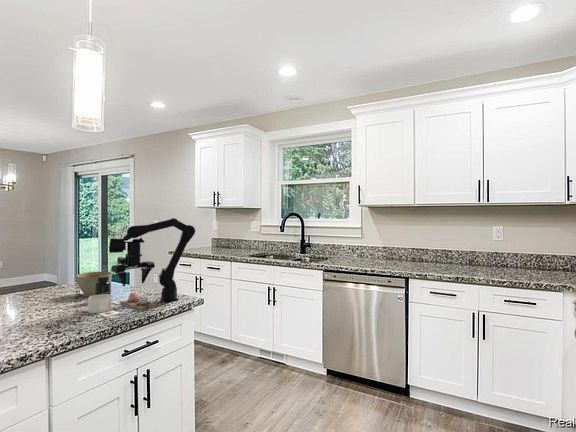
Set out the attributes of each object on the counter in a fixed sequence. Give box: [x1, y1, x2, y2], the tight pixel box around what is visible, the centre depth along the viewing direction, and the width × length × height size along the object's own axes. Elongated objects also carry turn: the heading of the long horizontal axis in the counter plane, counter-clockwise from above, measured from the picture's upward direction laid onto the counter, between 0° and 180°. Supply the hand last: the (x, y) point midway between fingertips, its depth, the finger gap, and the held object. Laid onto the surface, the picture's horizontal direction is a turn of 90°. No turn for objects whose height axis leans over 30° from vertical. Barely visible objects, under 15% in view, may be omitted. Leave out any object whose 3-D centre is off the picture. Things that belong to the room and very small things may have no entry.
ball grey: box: [138, 295, 149, 305], centre depth 152 cm, size 4×4×4 cm
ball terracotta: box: [128, 292, 139, 301], centre depth 157 cm, size 4×4×4 cm
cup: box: [87, 294, 112, 314], centre depth 145 cm, size 8×8×6 cm
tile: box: [98, 310, 120, 318], centre depth 140 cm, size 6×6×1 cm
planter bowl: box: [76, 271, 113, 298], centre depth 173 cm, size 16×16×11 cm
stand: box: [119, 298, 158, 311], centre depth 154 cm, size 8×18×2 cm, turn 53°
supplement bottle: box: [95, 276, 112, 296], centre depth 161 cm, size 7×7×12 cm
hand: (133, 284), depth 157 cm, fingers open, 9 cm apart
